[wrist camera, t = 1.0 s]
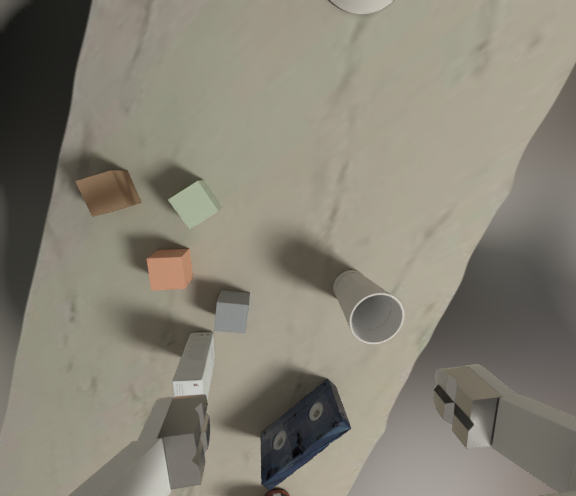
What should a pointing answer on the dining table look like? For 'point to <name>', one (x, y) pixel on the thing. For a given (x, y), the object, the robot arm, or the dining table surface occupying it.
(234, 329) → the slate cube
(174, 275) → the terracotta cube
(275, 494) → the supplement bottle
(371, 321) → the cup
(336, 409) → the vhs cassette tape
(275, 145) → the dining table surface
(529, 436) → the robot arm
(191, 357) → the skincare box
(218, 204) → the sage cube
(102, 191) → the walnut cube
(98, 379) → the dining table surface
